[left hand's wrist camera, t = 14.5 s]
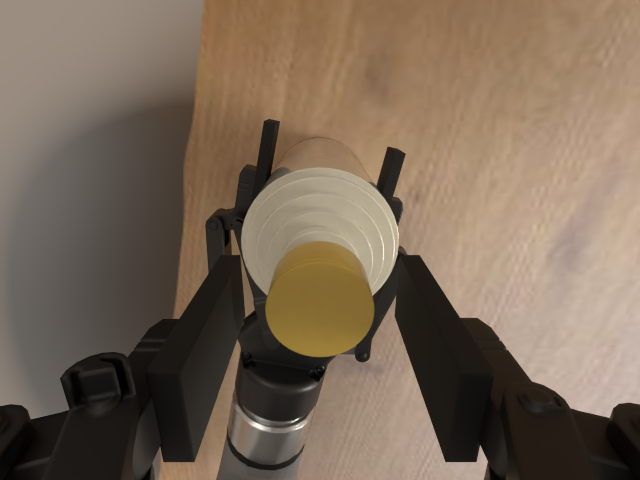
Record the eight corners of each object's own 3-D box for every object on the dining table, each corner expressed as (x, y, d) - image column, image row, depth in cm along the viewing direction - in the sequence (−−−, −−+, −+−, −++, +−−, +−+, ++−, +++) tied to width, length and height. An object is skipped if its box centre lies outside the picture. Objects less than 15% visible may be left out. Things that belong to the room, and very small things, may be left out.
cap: (352, 333, 16) (357, 366, 14) (264, 314, 15) (255, 345, 13) (379, 252, 14) (388, 276, 12) (283, 230, 14) (277, 251, 12)
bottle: (259, 201, 33) (176, 341, 14) (301, 120, 31) (269, 152, 11) (336, 241, 34) (357, 419, 15) (382, 166, 32) (476, 265, 13)
